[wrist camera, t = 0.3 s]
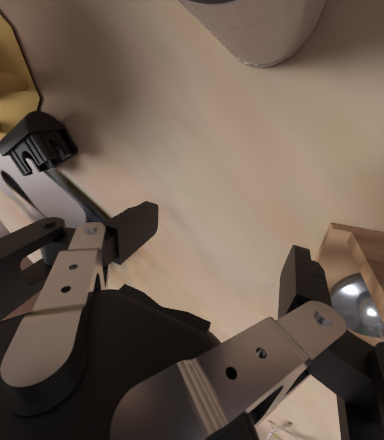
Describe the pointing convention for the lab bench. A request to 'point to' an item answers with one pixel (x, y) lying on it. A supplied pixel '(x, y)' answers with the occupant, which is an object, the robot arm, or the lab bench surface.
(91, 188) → the lab bench surface
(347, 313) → the cam foot
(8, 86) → the hourglass
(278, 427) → the dna model
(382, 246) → the levelling base
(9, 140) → the end cap
